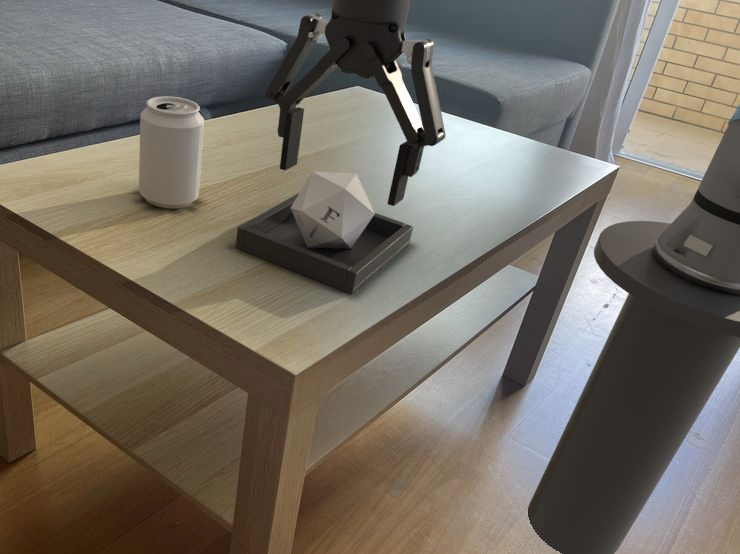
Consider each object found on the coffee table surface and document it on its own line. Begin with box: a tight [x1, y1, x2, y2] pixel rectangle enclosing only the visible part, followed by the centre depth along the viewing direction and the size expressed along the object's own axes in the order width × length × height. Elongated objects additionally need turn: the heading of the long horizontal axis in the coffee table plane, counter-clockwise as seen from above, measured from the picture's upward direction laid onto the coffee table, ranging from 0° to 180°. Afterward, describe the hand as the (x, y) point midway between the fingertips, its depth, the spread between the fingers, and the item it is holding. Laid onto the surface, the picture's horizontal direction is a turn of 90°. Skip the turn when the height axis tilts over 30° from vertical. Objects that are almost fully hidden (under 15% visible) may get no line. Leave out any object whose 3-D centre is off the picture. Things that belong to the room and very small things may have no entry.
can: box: [138, 95, 205, 210], centre depth 88 cm, size 8×8×12 cm
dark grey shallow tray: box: [235, 192, 414, 295], centre depth 85 cm, size 15×16×3 cm
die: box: [291, 171, 376, 249], centre depth 83 cm, size 8×9×10 cm
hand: (340, 184), depth 81 cm, fingers open, 13 cm apart
